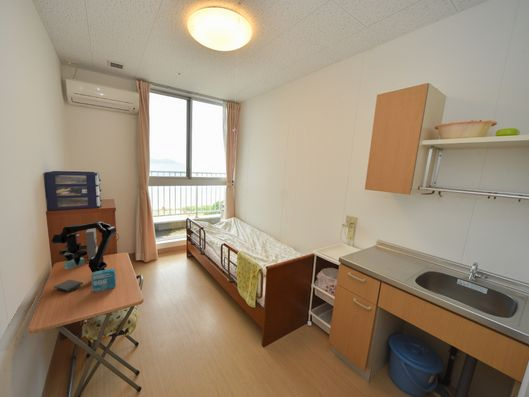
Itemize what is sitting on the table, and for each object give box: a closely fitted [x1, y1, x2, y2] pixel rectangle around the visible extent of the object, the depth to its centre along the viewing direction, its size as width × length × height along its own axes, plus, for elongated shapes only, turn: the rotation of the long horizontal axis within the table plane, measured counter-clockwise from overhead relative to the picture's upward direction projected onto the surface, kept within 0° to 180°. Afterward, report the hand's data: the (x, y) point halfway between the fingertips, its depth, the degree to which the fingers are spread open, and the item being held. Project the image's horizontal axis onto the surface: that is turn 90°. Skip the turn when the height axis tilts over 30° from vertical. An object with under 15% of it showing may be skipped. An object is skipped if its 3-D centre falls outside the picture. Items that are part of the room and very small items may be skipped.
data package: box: [90, 268, 117, 293], centre depth 141 cm, size 12×4×12 cm, turn 121°
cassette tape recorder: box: [85, 228, 99, 261], centre depth 189 cm, size 14×6×25 cm, turn 32°
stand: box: [53, 279, 84, 293], centre depth 142 cm, size 13×9×2 cm
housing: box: [62, 257, 86, 270], centre depth 152 cm, size 5×10×4 cm, turn 156°
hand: (74, 264), depth 152 cm, fingers closed on housing, 5 cm apart
